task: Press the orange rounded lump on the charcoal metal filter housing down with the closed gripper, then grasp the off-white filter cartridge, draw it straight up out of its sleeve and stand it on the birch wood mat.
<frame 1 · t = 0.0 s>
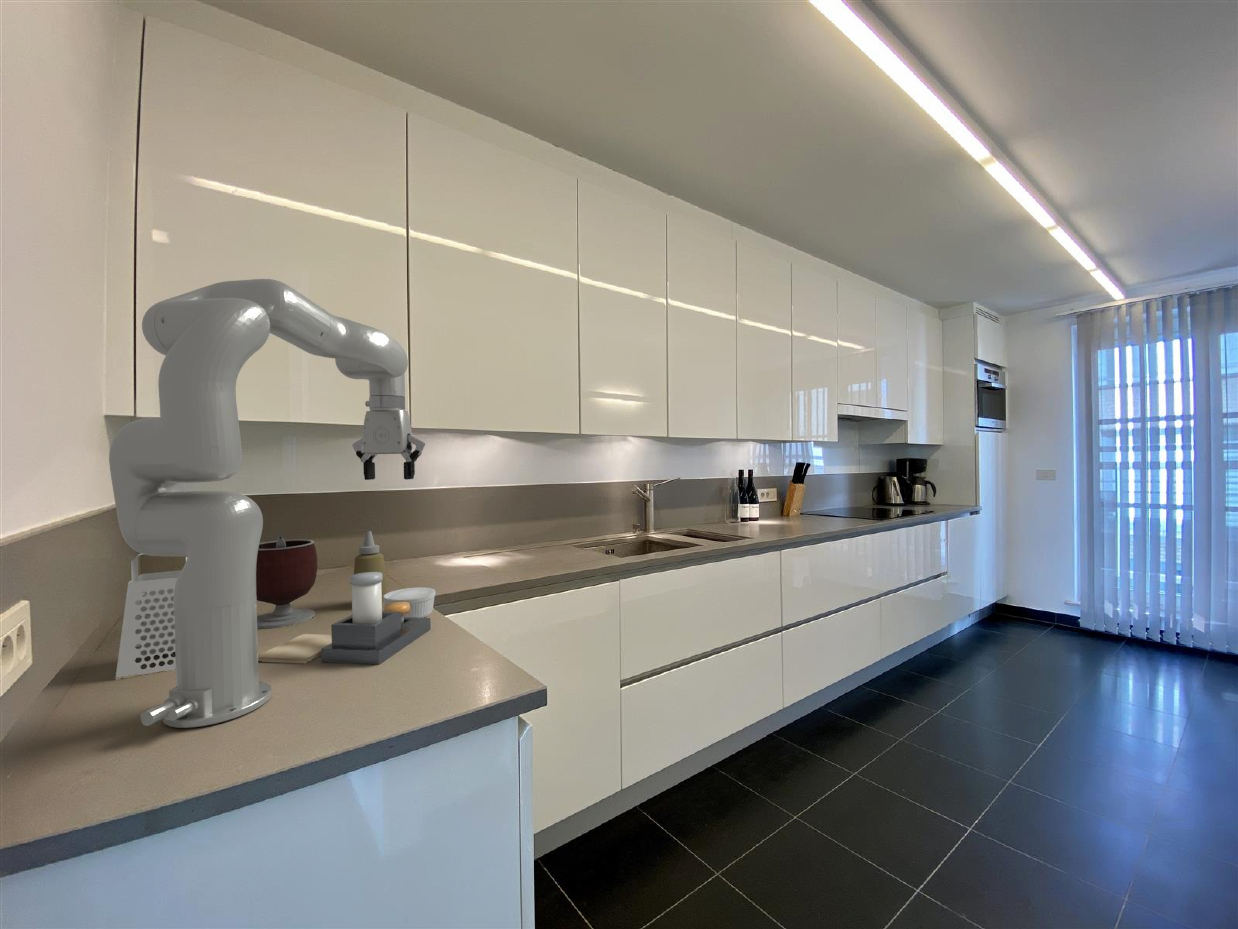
hand: (389, 479, 120), 31 cm above the countertop, tool pointing down, fingers open, 9 cm apart
squeeze bottle: (370, 604, 129), on the countertop
mat: (304, 649, 98), on the countertop
orange rounded lump: (397, 615, 106), point 4 cm above the countertop, slide at 0.0 cm
grater: (165, 663, 93), on the countertop
cartridge: (367, 639, 97), point 2 cm above the countertop, touching housing
housing: (380, 644, 101), on the countertop
ramekin: (410, 616, 119), on the countertop
mate gourd: (283, 621, 116), on the countertop
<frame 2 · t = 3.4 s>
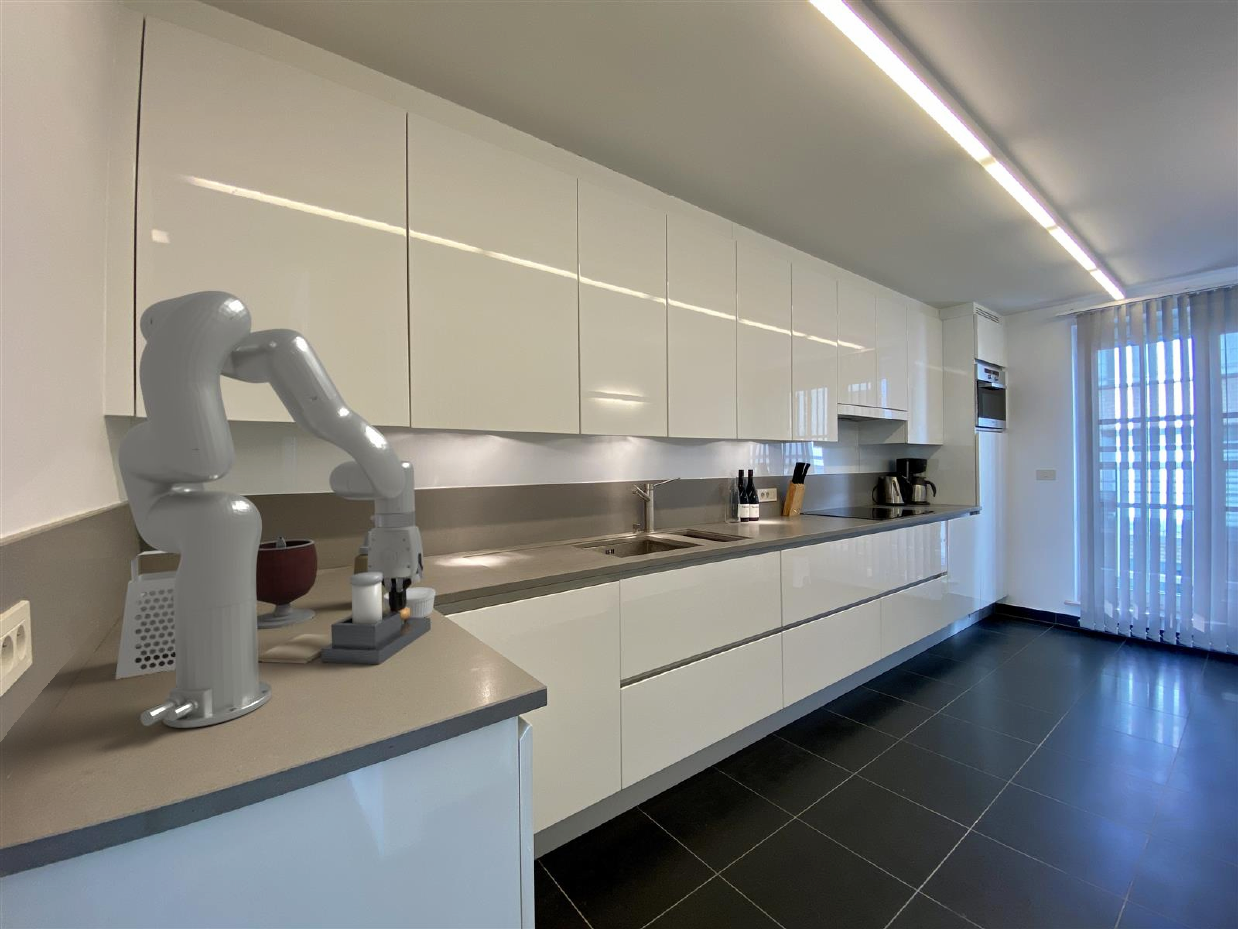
hand: (397, 609, 107), 5 cm above the countertop, tool pointing down, fingers closed
orange rounded lump: (397, 620, 106), point 3 cm above the countertop, slide at 1.0 cm, touching gripper
everything else where it was.
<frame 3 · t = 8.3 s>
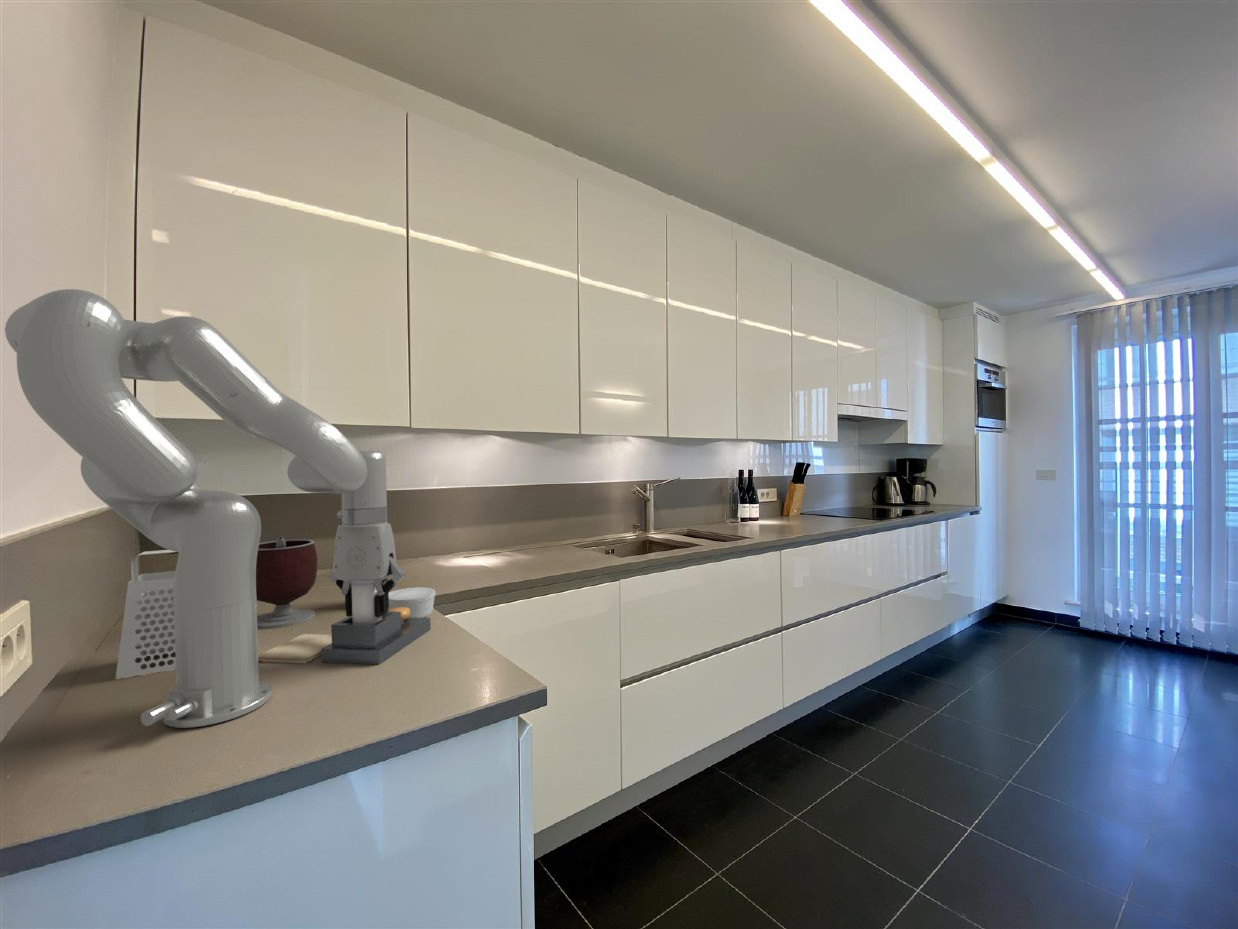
hand: (367, 613, 96), 7 cm above the countertop, tool pointing down, fingers closed on cartridge, 5 cm apart
orange rounded lump: (397, 620, 106), point 3 cm above the countertop, slide at 1.1 cm
cartridge: (367, 639, 97), point 2 cm above the countertop, touching gripper, housing
everything else where it was.
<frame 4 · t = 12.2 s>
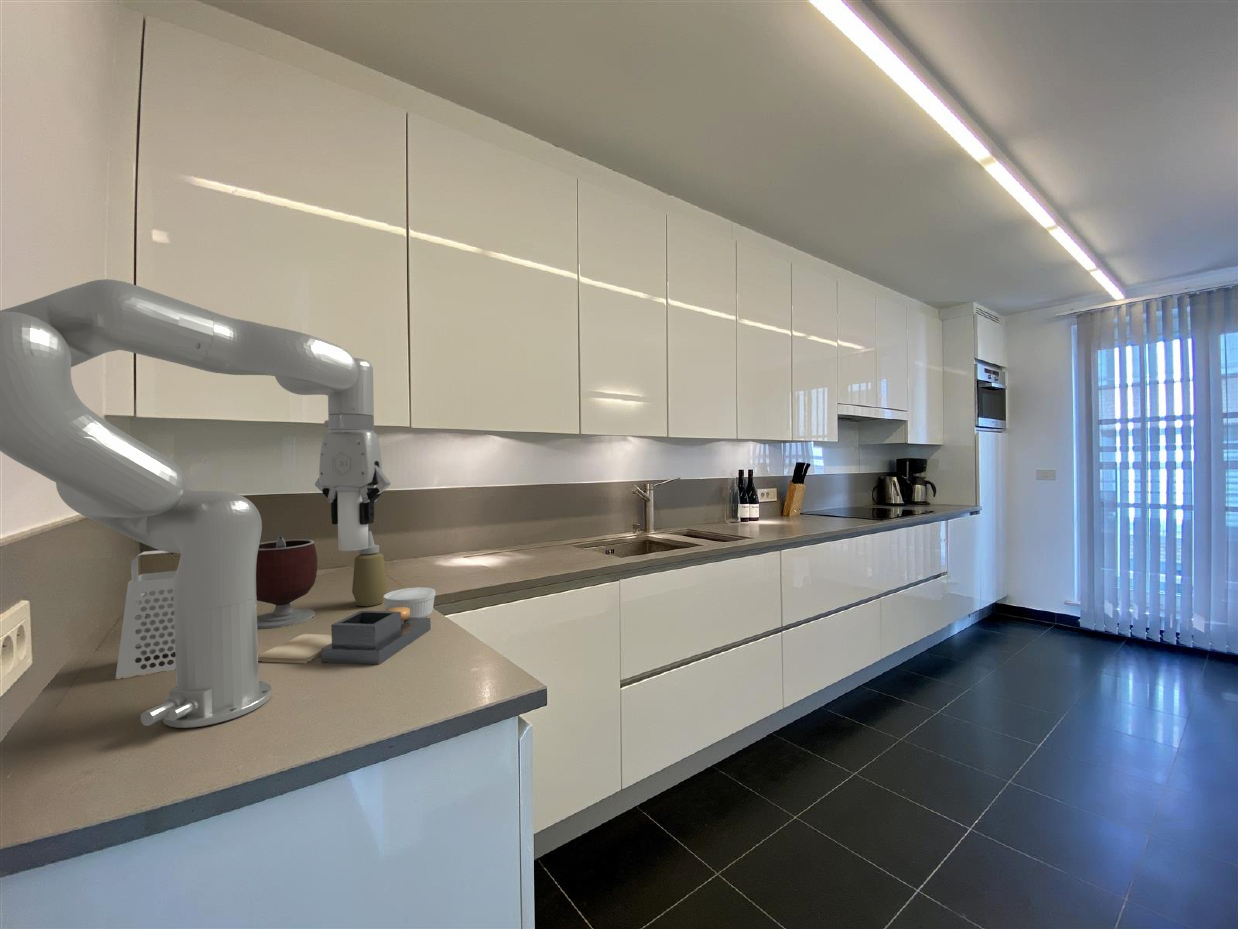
hand: (352, 522, 96), 24 cm above the countertop, tool pointing down, fingers closed on cartridge, 5 cm apart
cartridge: (353, 548, 96), point 19 cm above the countertop, touching gripper
everything else where it was.
when the fingers open (7 cm above the countertop, at t = 16.6 s): cartridge drops 1 cm, resting on mat.
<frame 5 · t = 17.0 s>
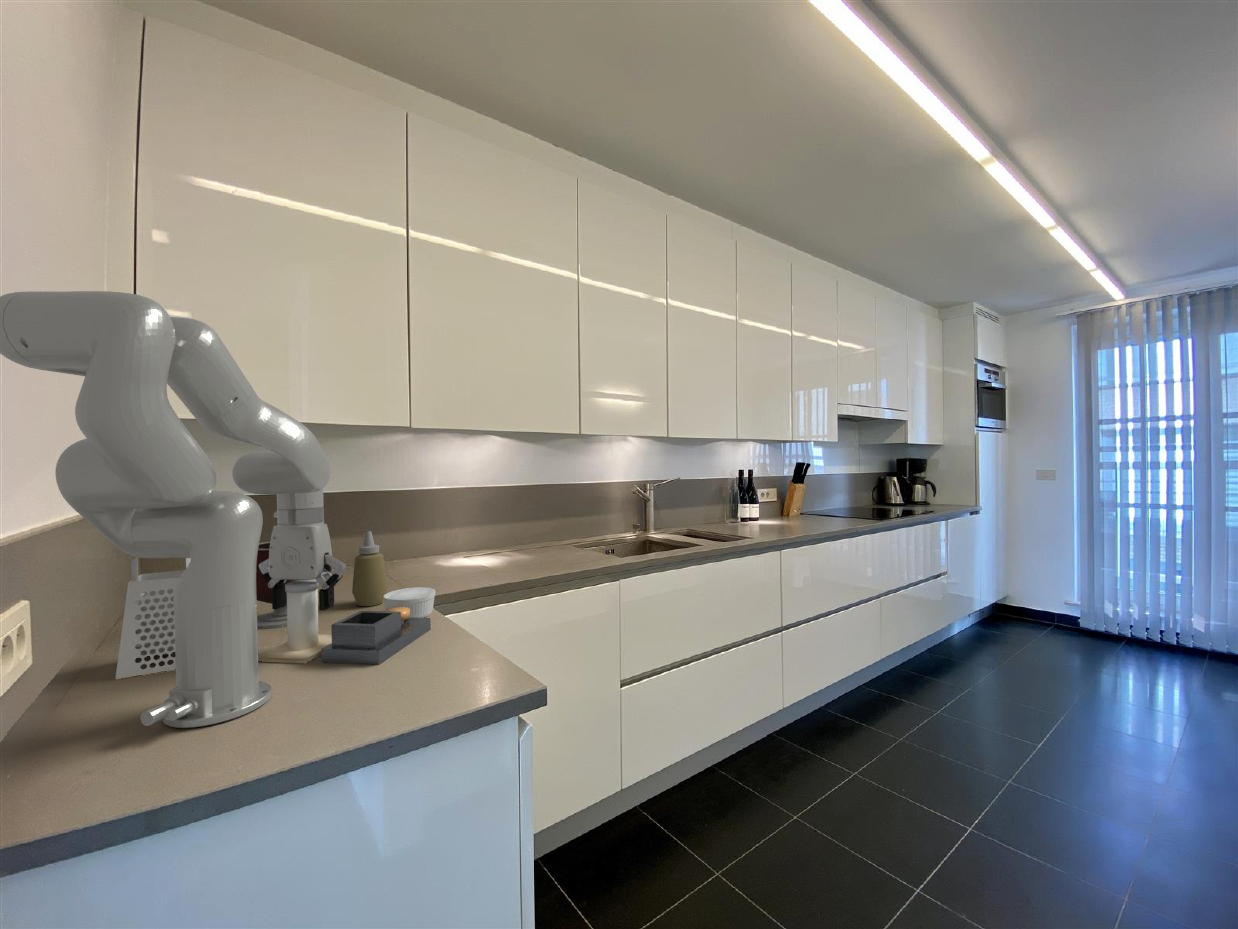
hand: (303, 608, 98), 8 cm above the countertop, tool pointing down, fingers open, 9 cm apart
cartridge: (303, 645, 98), point 1 cm above the countertop, touching mat
everything else where it was.
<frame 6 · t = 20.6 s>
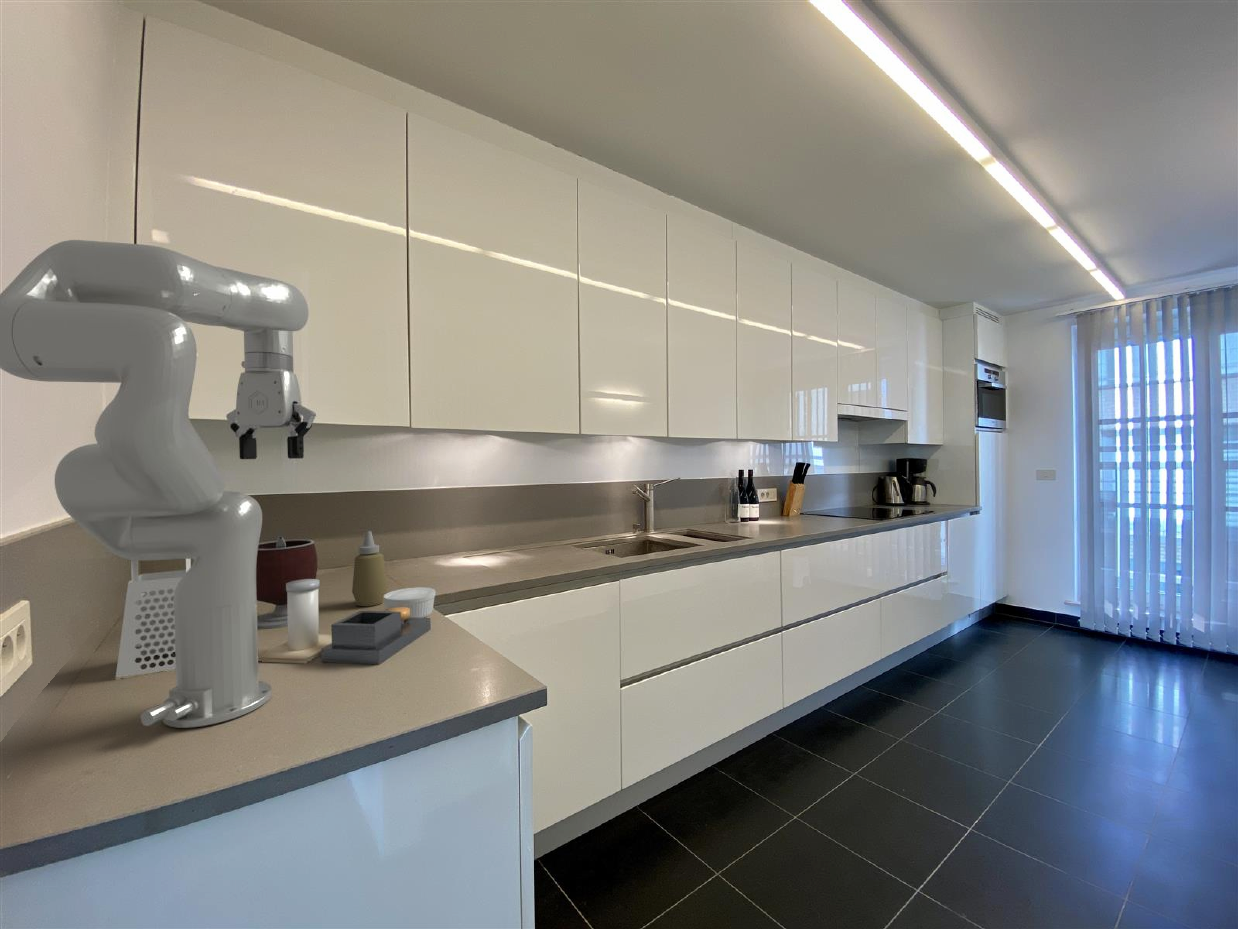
hand: (271, 458, 96), 36 cm above the countertop, tool pointing down, fingers open, 9 cm apart
nothing on the countertop moved.
at the end: orange rounded lump slide at 1.1 cm; cartridge inside the target area on the mat (0.1 cm from its centre), point 0.8 cm above the mat's base; cartridge tilted 1° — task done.
